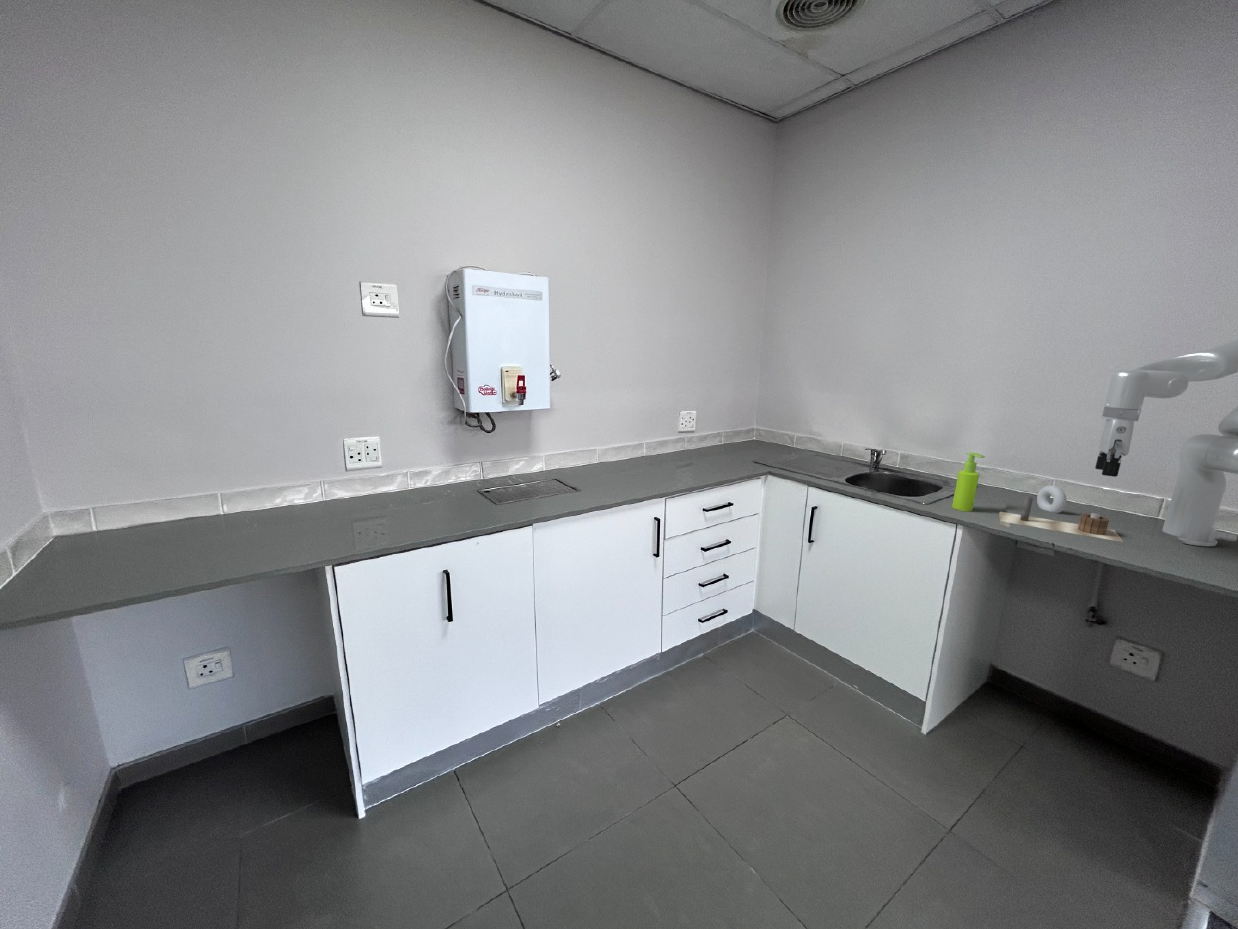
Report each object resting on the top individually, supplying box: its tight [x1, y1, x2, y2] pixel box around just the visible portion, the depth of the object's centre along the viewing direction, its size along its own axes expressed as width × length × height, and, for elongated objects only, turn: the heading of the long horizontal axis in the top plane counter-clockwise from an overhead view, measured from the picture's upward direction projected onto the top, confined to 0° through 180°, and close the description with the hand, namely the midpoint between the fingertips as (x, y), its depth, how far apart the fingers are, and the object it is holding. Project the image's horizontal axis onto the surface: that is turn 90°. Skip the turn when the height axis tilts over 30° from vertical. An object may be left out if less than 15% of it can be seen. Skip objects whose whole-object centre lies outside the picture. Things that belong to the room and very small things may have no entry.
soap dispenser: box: [951, 452, 985, 512], centre depth 171 cm, size 6×7×20 cm
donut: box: [1036, 485, 1067, 514], centre depth 169 cm, size 10×4×10 cm, turn 179°
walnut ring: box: [1078, 513, 1110, 535], centre depth 149 cm, size 6×6×4 cm
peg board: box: [998, 495, 1124, 543], centre depth 153 cm, size 28×12×10 cm, turn 55°
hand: (1105, 472), depth 146 cm, fingers open, 9 cm apart
